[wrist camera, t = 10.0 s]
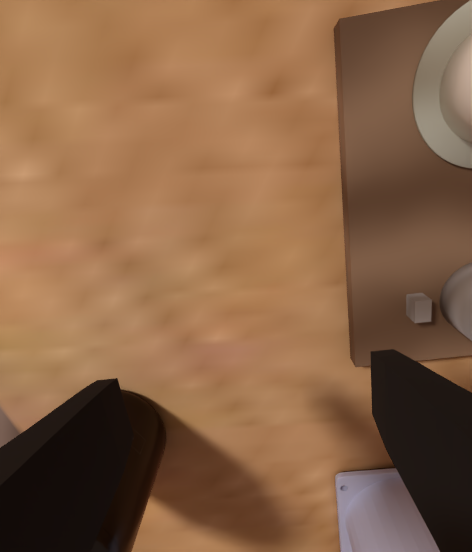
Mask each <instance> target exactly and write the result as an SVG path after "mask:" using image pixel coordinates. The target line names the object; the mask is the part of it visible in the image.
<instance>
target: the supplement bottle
mask: <svg viewBox="0 0 472 552" xmlns="http://www.w3.org/2000/svg"><path fill="white" fill-rule="evenodd" d="M121 393H122V396H123V400H124V403H125V407H126V410H127V414H128V417H129V421H130V424H131V427H132V431H133V434H134V437H133V441H132V444H131V448H130V452H129V456H128V459H127V463H126V466H125V470H124V473H123V475H122V478H121V480H120V483H119V485H118V488H117V490H116V492H115V495H114V497H113V500H112V502H111V505H110V507H109V509H108V512H107V514H106V517H105V519H104V521H103V524H102V526H101V529H100V531H99V533H98V536H97V538H96V541H95V543H94V545H93V548H92V550H91V552H131V551H132V548H133V545H134V542H135V539H136V536H137V533H138V530H139V527H140V524H141V521H142V518H143V515H144V512H145V509H146V506H147V502H148V499H149V496H150V493H151V490H152V487H153V484H154V481H155V478H156V475H157V472H158V469H159V466H160V463H161V459H162V456H163V453H164V449H165V444H166V433H165V428H164V425H163V422H162V420H161V418H160V416H159V415H158V413H157V412H156V411H155V409H154V408H153V407H152V406H151V405H150V404H149V403H147V402H146V401H145V400H143V399H142V398H140V397H138V396H136V395H134V394H132V393H129V392H126V391H122V390H121Z"/></svg>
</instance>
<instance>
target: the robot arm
mask: <svg viewBox="0 0 472 552" xmlns="http://www.w3.org/2000/svg"><path fill="white" fill-rule="evenodd" d="M370 354H371V387H372V414H373V417H374V419H375V422H376V425H377V427H378V430H379V433H380V435H381V438H382V440H383V443H384V445H385V448H386V450H387V452H388V454H389V456H390V458H391V460H392V462H393V464H394V465H395V467H396V468H390V469H378V470H365V471H352V472H341V473H338V474H337V475H336V476H335V486H336V499H337V512H338V525H339V539H340V552H472V393H471V392H469V391H467V390H465V389H464V388H462V387H460V386H458V385H456V384H455V383H453V382H451V381H449V380H447V379H446V378H444V377H442V376H440V375H439V374H437V373H435V372H433V371H432V370H430V369H428V368H426V367H425V366H423V365H421V364H420V363H418V362H416V361H414V360H413V359H411V358H409V357H407V356H406V355H404V354H402V353H400V352H398V351H396V350H394V349H390V350H380V351H371V352H370ZM133 437H134V434H133V431H132V427H131V424H130V421H129V417H128V414H127V410H126V407H125V403H124V400H123V396H122V393H121V390H120V386H119V383H118V379H117V378H116V379H107V380H97V381H96V382H94V383H92V384H90V385H89V386H87V387H86V388H84V389H83V390H81V391H80V392H79V393H77V394H76V395H74V396H73V397H71V398H70V399H69V400H67V401H66V402H65V403H63V404H62V405H60V406H59V407H58V408H56V409H55V410H53V411H52V412H51V413H49V414H48V415H47V416H45V417H44V418H42V419H41V420H40V421H38V422H37V423H36V424H34V425H33V426H31V427H30V428H29V429H27V430H26V431H24V432H23V433H21V434H20V435H18V436H17V437H16V438H14V439H13V440H11V441H10V442H8V443H7V444H6V445H4V446H2V447H1V448H0V552H91V550H92V548H93V545H94V543H95V541H96V538H97V536H98V533H99V531H100V529H101V526H102V524H103V521H104V519H105V517H106V514H107V512H108V509H109V507H110V505H111V502H112V500H113V497H114V495H115V492H116V490H117V488H118V485H119V483H120V480H121V478H122V475H123V473H124V470H125V466H126V463H127V459H128V456H129V452H130V448H131V444H132V441H133ZM343 485H345V486H343Z"/></svg>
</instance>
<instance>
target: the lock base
mask: <svg viewBox="0 0 472 552" xmlns="http://www.w3.org/2000/svg"><path fill="white" fill-rule="evenodd" d="M471 34H472V0H439V1H434V2H428V3H423V4H417V5H412V6H407V7H401V8H396V9H390V10H385V11H380V12H374V13H369V14H363V15H358V16H353V17H347V18H342V19H339V21H338V22H337V24H336V26H335V27H334V41H335V61H336V80H337V100H338V120H339V140H340V159H341V179H342V199H343V218H344V238H345V258H346V277H347V297H348V317H349V336H350V356H351V360H352V361H353V363H354V365H355V367H362V366H371V354H370V352H371V351H380V350H390V349H394V350H396V351H398V352H400V353H402V354H404V355H406V356H407V357H409V358H411V359H413V360H414V361H421V360H430V359H440V358H450V357H460V356H469V355H472V143H471V142H468V141H466V140H463V139H461V138H460V137H458V136H457V135H456V134H455V133H454V132H453V131H451V129H450V128H449V127H448V125H447V124H446V122H445V120H444V118H443V115H442V113H441V108H440V101H439V91H440V84H441V79H442V76H443V72H444V70H445V67H446V65H447V63H448V61H449V59H450V58H451V56H452V55H453V53H454V52H455V50H456V49H457V48H458V46H459V45H460V44H461V43H462V42H463V41H464V40H465V39H466V38H467V37H468V36H470V35H471Z"/></svg>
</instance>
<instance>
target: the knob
mask: <svg viewBox="0 0 472 552" xmlns="http://www.w3.org/2000/svg"><path fill="white" fill-rule="evenodd" d="M439 101H440V108H441V113H442V115H443V118H444V120H445V122H446V124H447V125H448V127H449V128H450V129H451V131H453V132H454V133H455V134H456V135H457V136H458V137H460V138H461V139H463V140H466V141H468V142H471V143H472V34H471V35H470V36H468V37H467V38H466V39H465V40H464V41H463V42H462V43H461V44H460V45H459V46H458V48H457V49H456V50H455V52H454V53H453V55H452V56H451V58H450V59H449V61H448V63H447V65H446V67H445V70H444V72H443V76H442V79H441V84H440V91H439Z"/></svg>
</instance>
